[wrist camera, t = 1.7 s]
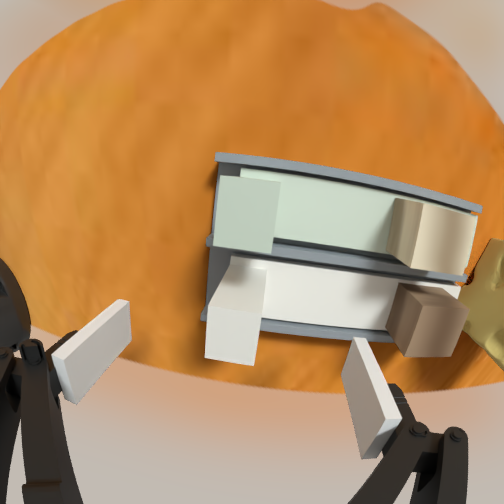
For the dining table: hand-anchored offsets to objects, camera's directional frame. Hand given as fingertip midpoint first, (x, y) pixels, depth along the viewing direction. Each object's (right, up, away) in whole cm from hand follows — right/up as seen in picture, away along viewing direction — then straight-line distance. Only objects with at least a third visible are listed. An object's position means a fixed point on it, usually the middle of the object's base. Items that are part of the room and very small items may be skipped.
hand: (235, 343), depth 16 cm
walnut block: (+16, 0, +8) cm, 17 cm away
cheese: (+28, 0, +9) cm, 29 cm away
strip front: (+11, +8, +7) cm, 15 cm away
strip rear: (+10, +1, +9) cm, 13 cm away
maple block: (+15, +7, +6) cm, 17 cm away
